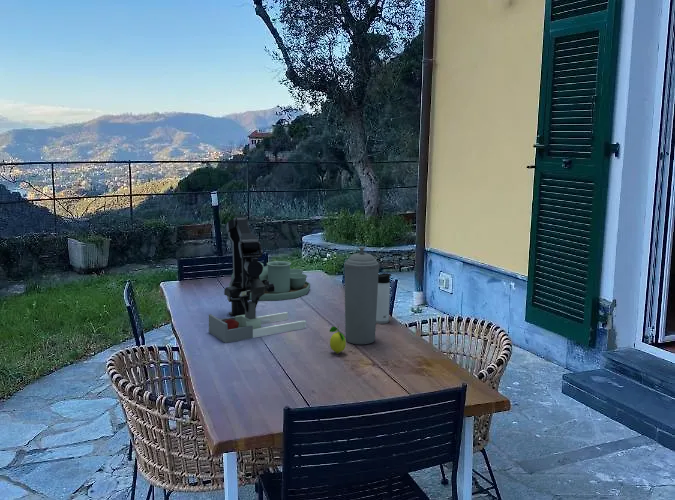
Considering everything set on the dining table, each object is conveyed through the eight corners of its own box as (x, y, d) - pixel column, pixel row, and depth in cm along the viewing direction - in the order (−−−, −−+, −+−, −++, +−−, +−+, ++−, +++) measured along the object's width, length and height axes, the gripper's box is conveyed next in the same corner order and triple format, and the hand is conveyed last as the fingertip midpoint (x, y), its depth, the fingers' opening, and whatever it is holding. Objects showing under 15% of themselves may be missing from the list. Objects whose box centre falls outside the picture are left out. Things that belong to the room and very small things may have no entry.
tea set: (325, 289, 301) (325, 256, 299) (276, 306, 268) (276, 270, 265) (263, 279, 322) (262, 248, 319) (210, 293, 289) (209, 260, 286)
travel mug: (388, 324, 242) (390, 275, 238) (372, 323, 243) (373, 274, 240) (390, 320, 248) (391, 272, 244) (374, 318, 249) (375, 271, 246)
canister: (381, 345, 216) (383, 249, 210) (346, 346, 214) (347, 250, 208) (373, 334, 228) (375, 243, 222) (340, 335, 226) (341, 244, 220)
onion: (236, 324, 230) (217, 333, 227) (233, 312, 227) (214, 322, 224) (243, 332, 226) (224, 342, 223) (241, 321, 223) (221, 330, 220)
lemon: (329, 350, 210) (329, 322, 209) (345, 350, 210) (346, 322, 208) (328, 356, 204) (328, 328, 202) (345, 356, 203) (346, 328, 202)
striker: (235, 328, 232) (234, 300, 230) (263, 323, 238) (262, 296, 236) (246, 335, 223) (246, 306, 222) (275, 330, 230) (275, 302, 228)
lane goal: (208, 332, 228) (208, 314, 227) (286, 319, 247) (286, 302, 246) (225, 343, 216) (224, 324, 215) (305, 328, 235) (306, 310, 234)
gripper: (236, 278, 214) (237, 320, 217) (281, 272, 225) (282, 312, 227) (223, 272, 223) (224, 313, 226) (267, 267, 234) (268, 306, 236)
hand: (250, 311), depth 228 cm, fingers closed on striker, 2 cm apart
